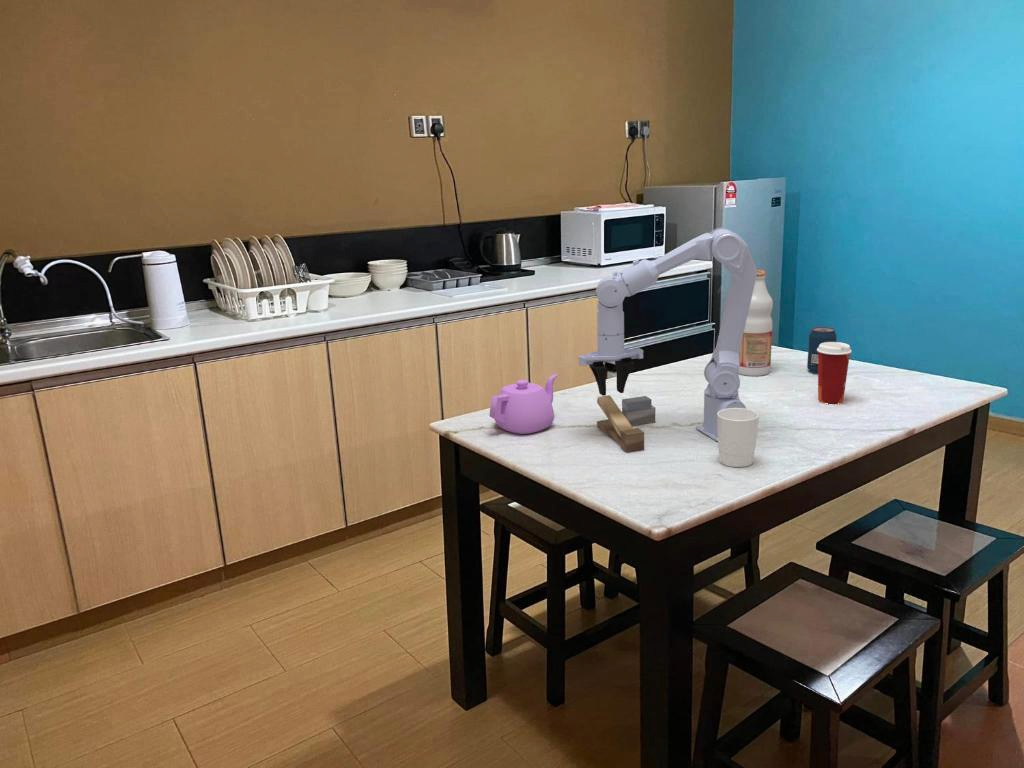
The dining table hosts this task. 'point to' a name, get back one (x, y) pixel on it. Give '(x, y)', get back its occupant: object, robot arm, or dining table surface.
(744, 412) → the white cup
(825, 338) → the soda can
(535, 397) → the teapot
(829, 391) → the paper cup
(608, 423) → the brown grey blocky piece
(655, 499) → the dining table surface
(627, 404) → the bar
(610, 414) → the arm
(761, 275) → the fruit juice
